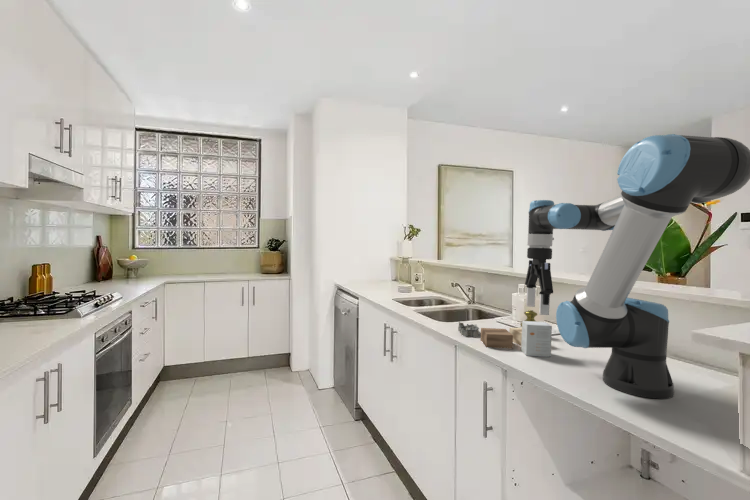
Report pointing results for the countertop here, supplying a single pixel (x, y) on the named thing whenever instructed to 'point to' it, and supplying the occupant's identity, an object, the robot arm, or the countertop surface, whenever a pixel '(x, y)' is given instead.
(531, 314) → the olive-gold lumpy piece
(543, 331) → the small box
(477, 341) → the countertop surface
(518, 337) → the maple block
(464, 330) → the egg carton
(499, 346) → the walnut block
